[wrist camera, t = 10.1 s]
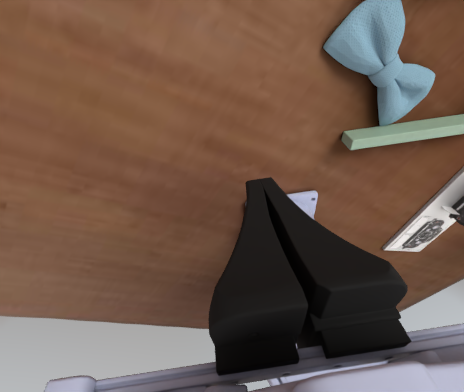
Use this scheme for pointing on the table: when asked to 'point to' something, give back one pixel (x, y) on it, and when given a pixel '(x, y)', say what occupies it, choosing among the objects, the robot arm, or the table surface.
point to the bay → (404, 132)
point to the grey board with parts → (432, 218)
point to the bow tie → (381, 56)
